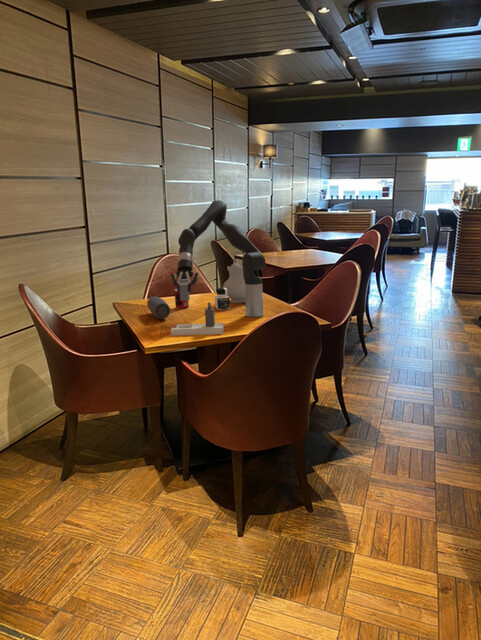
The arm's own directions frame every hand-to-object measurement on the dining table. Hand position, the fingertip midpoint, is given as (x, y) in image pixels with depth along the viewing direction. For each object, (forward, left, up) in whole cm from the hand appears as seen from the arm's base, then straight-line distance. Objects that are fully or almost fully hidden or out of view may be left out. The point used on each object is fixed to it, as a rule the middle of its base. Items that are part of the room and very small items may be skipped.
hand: (183, 291), depth 234 cm
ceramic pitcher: (-25, -61, -18) cm, 68 cm away
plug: (0, -2, -5) cm, 5 cm away
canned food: (+8, -46, -18) cm, 50 cm away
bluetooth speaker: (+18, -25, -18) cm, 36 cm away
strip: (-7, +11, -18) cm, 22 cm away
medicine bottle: (-16, -40, -18) cm, 47 cm away
